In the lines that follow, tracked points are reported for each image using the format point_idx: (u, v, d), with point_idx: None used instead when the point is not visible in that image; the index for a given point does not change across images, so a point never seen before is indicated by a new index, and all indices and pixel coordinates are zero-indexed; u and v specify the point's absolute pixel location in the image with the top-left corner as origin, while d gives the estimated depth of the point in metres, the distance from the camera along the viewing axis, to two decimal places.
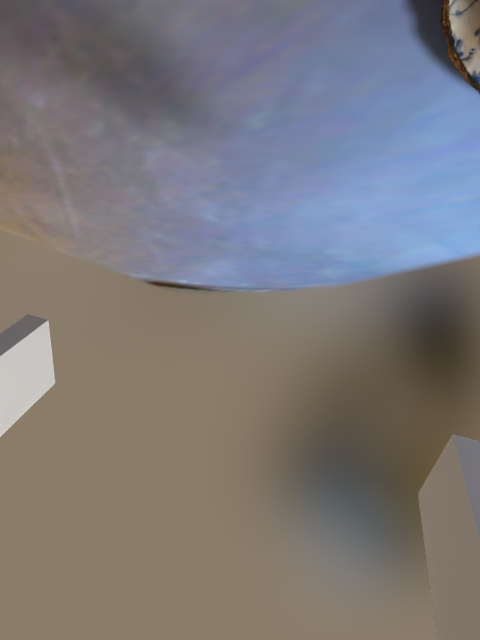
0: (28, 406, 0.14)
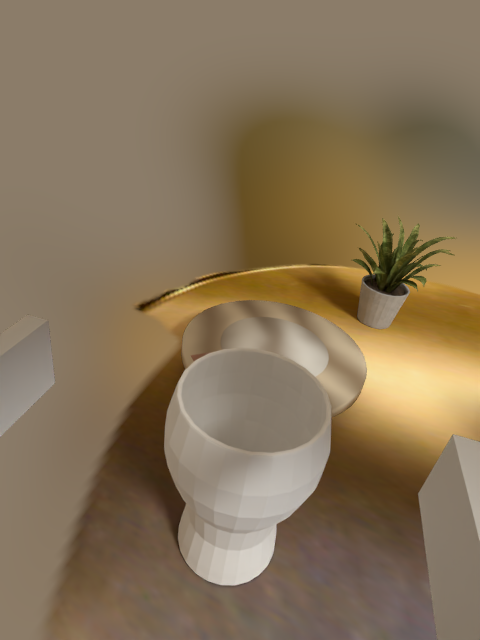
0: (28, 406, 0.14)
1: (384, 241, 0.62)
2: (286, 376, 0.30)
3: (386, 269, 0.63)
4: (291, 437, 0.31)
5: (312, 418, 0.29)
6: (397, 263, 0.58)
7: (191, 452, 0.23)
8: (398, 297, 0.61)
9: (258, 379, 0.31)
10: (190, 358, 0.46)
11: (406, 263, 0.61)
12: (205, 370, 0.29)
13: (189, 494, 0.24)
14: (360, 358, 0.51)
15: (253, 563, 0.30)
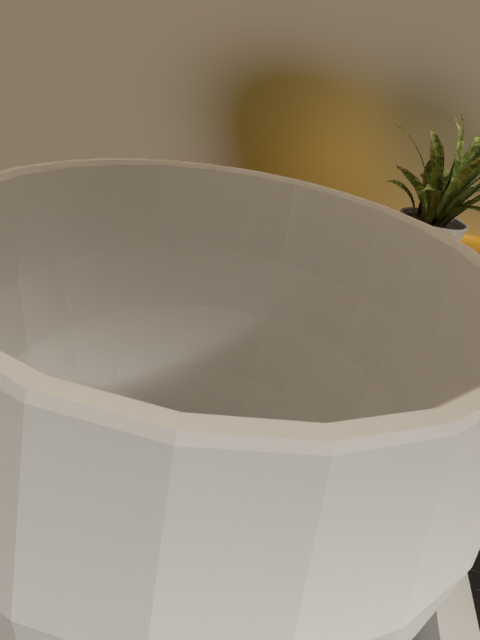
0: None
1: None
2: (322, 249, 0.12)
3: None
4: (330, 409, 0.13)
5: (396, 352, 0.11)
6: (457, 178, 0.40)
7: None
8: (455, 231, 0.42)
9: (251, 267, 0.13)
10: None
11: (466, 184, 0.43)
12: (105, 216, 0.11)
13: None
14: None
15: None
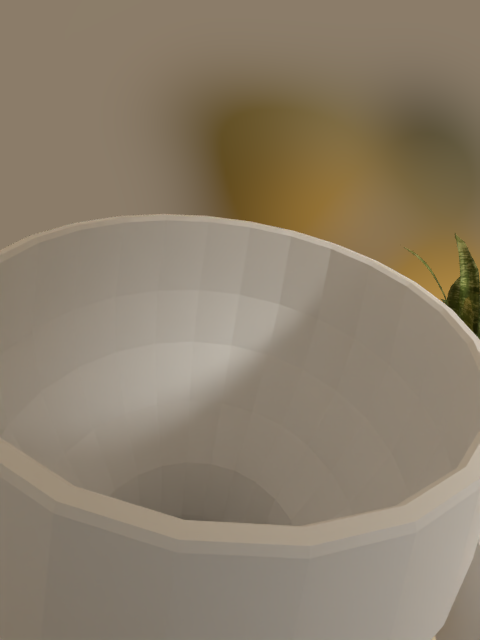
0: None
1: (463, 286, 0.28)
2: (318, 295, 0.12)
3: None
4: (325, 444, 0.13)
5: (387, 396, 0.11)
6: None
7: None
8: None
9: (251, 307, 0.14)
10: None
11: None
12: (113, 267, 0.11)
13: None
14: None
15: None
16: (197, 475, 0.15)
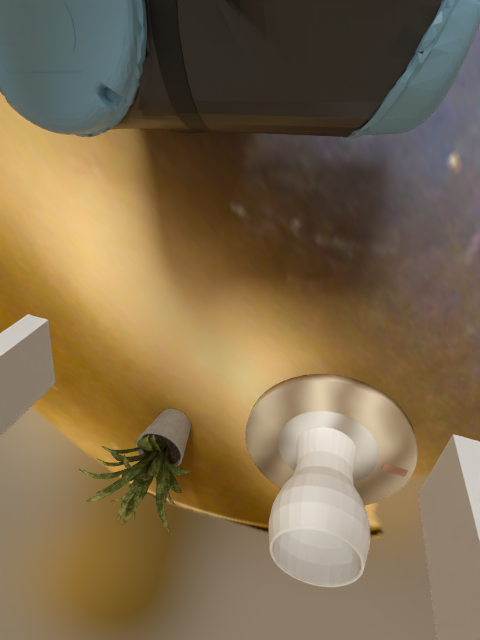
0: (28, 406, 0.14)
1: (140, 498, 0.57)
2: (274, 545, 0.46)
3: None
4: None
5: None
6: (156, 470, 0.54)
7: (366, 549, 0.42)
8: (163, 434, 0.58)
9: (285, 546, 0.47)
10: (406, 474, 0.54)
11: (135, 465, 0.56)
12: (320, 573, 0.46)
13: (368, 519, 0.44)
14: (263, 403, 0.54)
15: (329, 439, 0.52)
16: None
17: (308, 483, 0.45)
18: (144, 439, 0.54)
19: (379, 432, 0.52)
